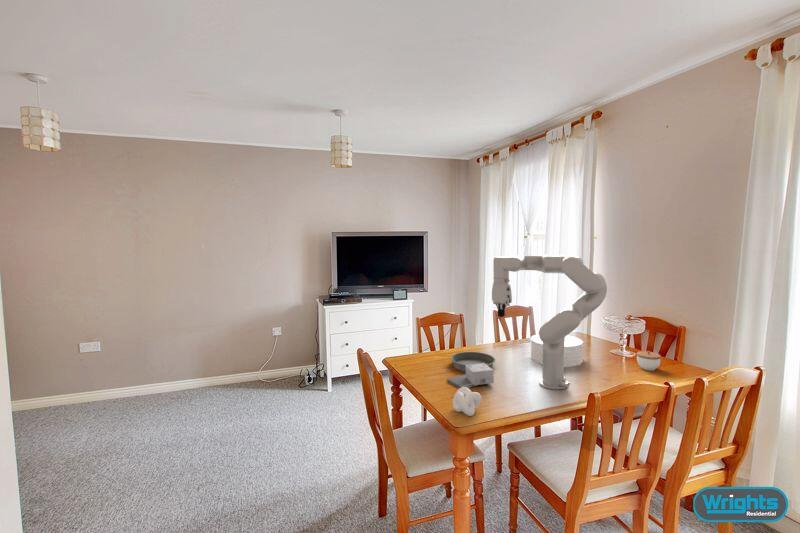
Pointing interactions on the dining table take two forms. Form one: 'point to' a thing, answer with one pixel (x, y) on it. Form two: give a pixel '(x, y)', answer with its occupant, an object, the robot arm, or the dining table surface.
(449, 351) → the dining table surface
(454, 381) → the mat
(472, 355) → the cake pan
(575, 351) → the plate stack
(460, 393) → the white decorative knot
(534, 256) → the robot arm
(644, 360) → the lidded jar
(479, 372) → the light bulb box
